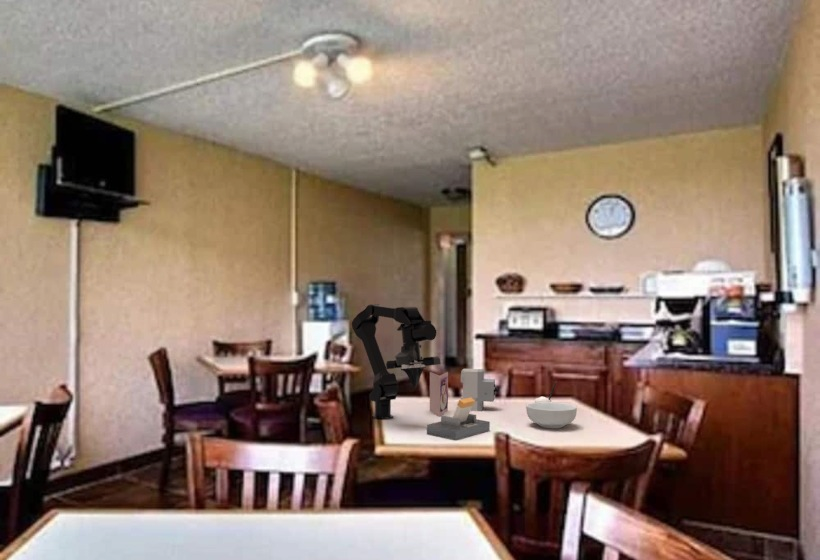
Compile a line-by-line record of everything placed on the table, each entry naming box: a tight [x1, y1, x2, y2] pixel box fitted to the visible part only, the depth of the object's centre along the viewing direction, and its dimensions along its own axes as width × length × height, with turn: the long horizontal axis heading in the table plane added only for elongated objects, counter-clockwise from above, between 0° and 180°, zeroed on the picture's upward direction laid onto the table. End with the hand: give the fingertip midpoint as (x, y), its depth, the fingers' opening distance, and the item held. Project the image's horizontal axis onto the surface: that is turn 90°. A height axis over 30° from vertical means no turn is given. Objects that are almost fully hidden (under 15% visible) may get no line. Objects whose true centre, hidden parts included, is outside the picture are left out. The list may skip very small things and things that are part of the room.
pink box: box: [429, 371, 449, 418], centre depth 252 cm, size 11×7×15 cm, turn 161°
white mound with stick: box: [534, 381, 557, 403], centre depth 253 cm, size 10×6×12 cm, turn 58°
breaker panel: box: [426, 413, 491, 441], centre depth 222 cm, size 12×18×6 cm, turn 138°
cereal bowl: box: [525, 401, 577, 429], centre depth 232 cm, size 17×17×7 cm
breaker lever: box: [452, 398, 475, 422], centre depth 220 cm, size 2×6×8 cm, turn 138°
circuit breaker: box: [460, 368, 500, 412], centre depth 261 cm, size 8×14×15 cm, turn 78°
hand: (415, 387), depth 233 cm, fingers closed
